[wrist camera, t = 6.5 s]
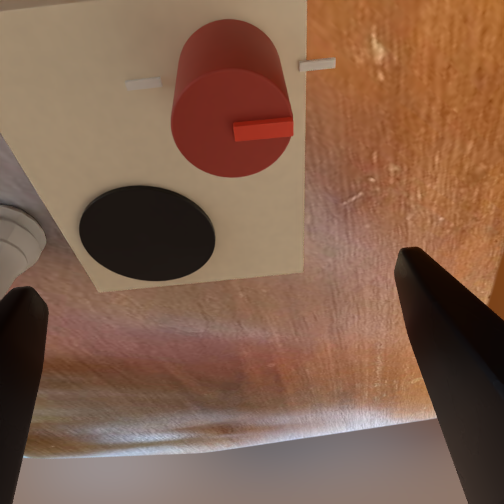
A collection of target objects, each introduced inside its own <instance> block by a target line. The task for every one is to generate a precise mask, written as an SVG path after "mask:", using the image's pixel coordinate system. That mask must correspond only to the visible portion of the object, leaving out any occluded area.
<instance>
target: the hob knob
mask: <svg viewBox="0 0 504 504" xmlns="http://www.w3.org/2000/svg"><path fill="white" fill-rule="evenodd" d="M171 131H172V136H173V139H174V142H175V144H176V146H177V148H178V149H179V151H180V152H181V154H182V155H183V156H184V157H185V158H186V159H187V160H188V161H189V162H190V163H191V164H192V165H194V166H195V167H197V168H198V169H200V170H202V171H204V172H206V173H209V174H211V175H215V176H219V177H227V178H238V177H245V176H249V175H253V174H255V173H258V172H260V171H262V170H264V169H266V168H267V167H269V166H271V165H272V164H273V163H274V162H275V161H277V159H278V158H279V157H280V156H281V155H282V154H283V152H284V151H285V149H286V147H287V146H288V144H289V141H290V139H291V136H293V135H294V121H293V113H292V109H291V104H290V100H289V96H288V92H287V87H286V83H285V79H284V75H283V70H282V66H281V62H280V58H279V55H278V52H277V49H276V48H275V46H274V44H273V42H272V41H271V40H270V38H269V37H268V36H267V35H266V34H265V33H264V32H263V31H261V30H260V29H259V28H257V27H256V26H254V25H252V24H250V23H247V22H244V21H241V20H235V19H223V20H217V21H214V22H210V23H208V24H206V25H204V26H202V27H201V28H199V29H198V30H197V31H195V32H194V33H193V34H192V35H191V36H190V38H189V39H188V40H187V42H186V43H185V45H184V46H183V49H182V51H181V54H180V57H179V62H178V69H177V76H176V84H175V91H174V98H173V105H172V112H171Z"/></svg>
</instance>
